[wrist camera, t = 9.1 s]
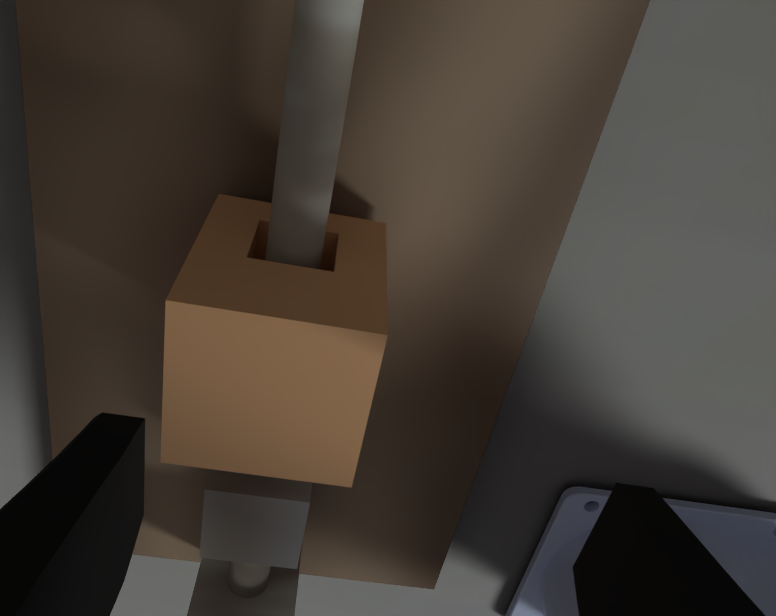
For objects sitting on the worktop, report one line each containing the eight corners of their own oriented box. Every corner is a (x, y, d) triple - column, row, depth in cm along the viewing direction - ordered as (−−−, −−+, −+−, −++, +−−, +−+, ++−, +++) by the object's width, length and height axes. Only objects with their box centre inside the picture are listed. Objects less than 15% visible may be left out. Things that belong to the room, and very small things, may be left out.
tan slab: (819, -539, 11) (1098, -802, 7) (431, 561, 26) (442, 702, 21) (-12, -808, 10) (-328, -1361, 5) (72, 517, 24) (5, 659, 20)
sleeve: (385, 223, 17) (388, 335, 13) (357, 354, 19) (351, 487, 15) (218, 193, 16) (165, 300, 12) (209, 332, 18) (160, 462, 14)
